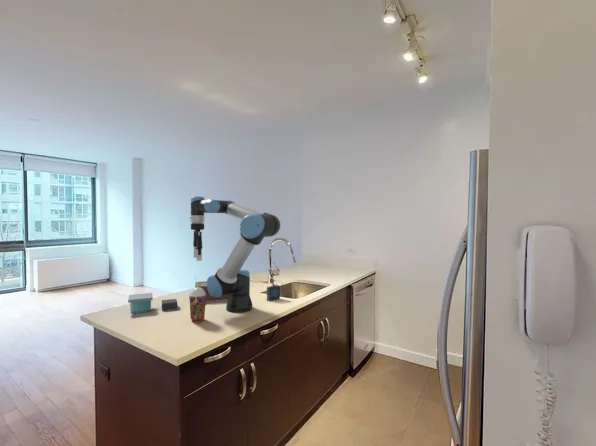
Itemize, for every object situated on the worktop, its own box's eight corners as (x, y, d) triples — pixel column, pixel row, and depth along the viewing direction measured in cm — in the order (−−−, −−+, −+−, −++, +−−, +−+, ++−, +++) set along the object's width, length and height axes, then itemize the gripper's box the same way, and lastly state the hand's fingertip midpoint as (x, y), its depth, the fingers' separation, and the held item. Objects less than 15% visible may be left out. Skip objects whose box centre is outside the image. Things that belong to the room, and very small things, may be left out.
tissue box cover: (195, 302, 193) (195, 286, 193) (195, 296, 207) (195, 281, 207) (236, 299, 201) (236, 284, 201) (234, 294, 215) (234, 279, 215)
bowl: (150, 311, 174) (150, 300, 173) (129, 314, 169) (129, 302, 169) (150, 306, 183) (150, 295, 183) (131, 308, 178) (130, 297, 178)
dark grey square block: (177, 308, 179) (177, 302, 179) (162, 310, 175) (162, 303, 175) (176, 305, 186) (176, 298, 186) (161, 306, 183) (161, 300, 182)
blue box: (267, 301, 197) (267, 284, 196) (265, 300, 199) (265, 283, 199) (280, 299, 201) (280, 283, 201) (278, 298, 204) (278, 282, 204)
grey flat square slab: (152, 300, 173) (152, 297, 173) (128, 302, 168) (128, 300, 168) (152, 295, 184) (152, 292, 184) (129, 297, 179) (129, 294, 179)
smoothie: (196, 324, 154) (196, 284, 154) (185, 321, 158) (185, 282, 158) (209, 319, 161) (209, 281, 161) (198, 316, 165) (198, 279, 165)
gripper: (188, 222, 190) (188, 256, 191) (193, 223, 168) (193, 262, 168) (201, 222, 193) (201, 256, 194) (207, 223, 171) (207, 261, 171)
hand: (197, 259), depth 181 cm, fingers open, 13 cm apart
